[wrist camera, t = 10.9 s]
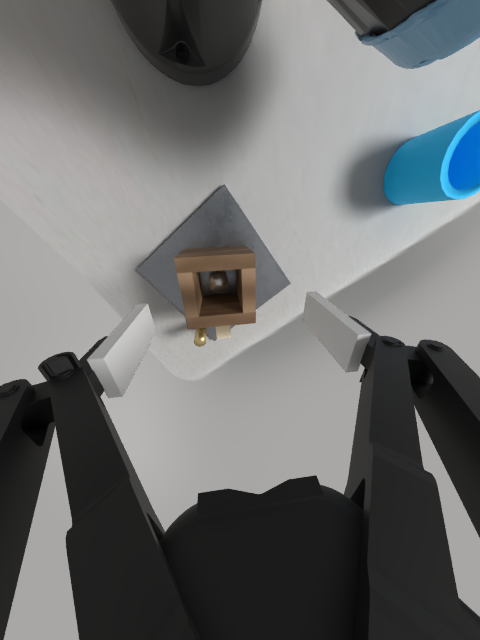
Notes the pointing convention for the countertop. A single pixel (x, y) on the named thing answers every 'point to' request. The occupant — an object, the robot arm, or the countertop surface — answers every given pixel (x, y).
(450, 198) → the mug
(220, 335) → the wooden square tube
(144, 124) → the countertop surface
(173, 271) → the flange base
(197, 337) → the dowel pin
